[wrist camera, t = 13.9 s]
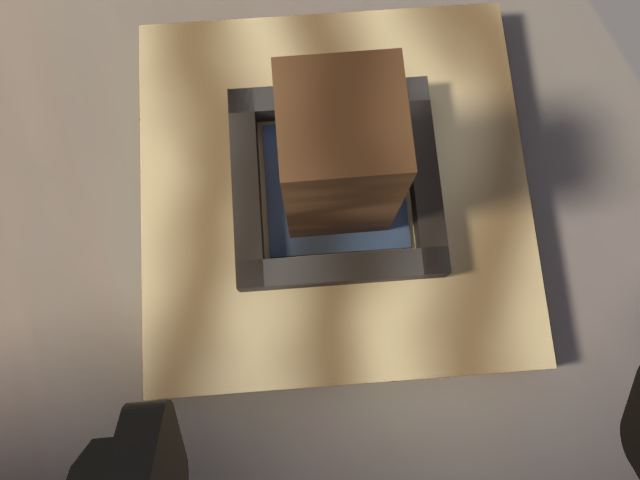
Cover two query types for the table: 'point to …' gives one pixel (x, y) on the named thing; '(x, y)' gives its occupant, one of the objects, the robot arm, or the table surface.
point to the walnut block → (342, 140)
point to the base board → (339, 249)
